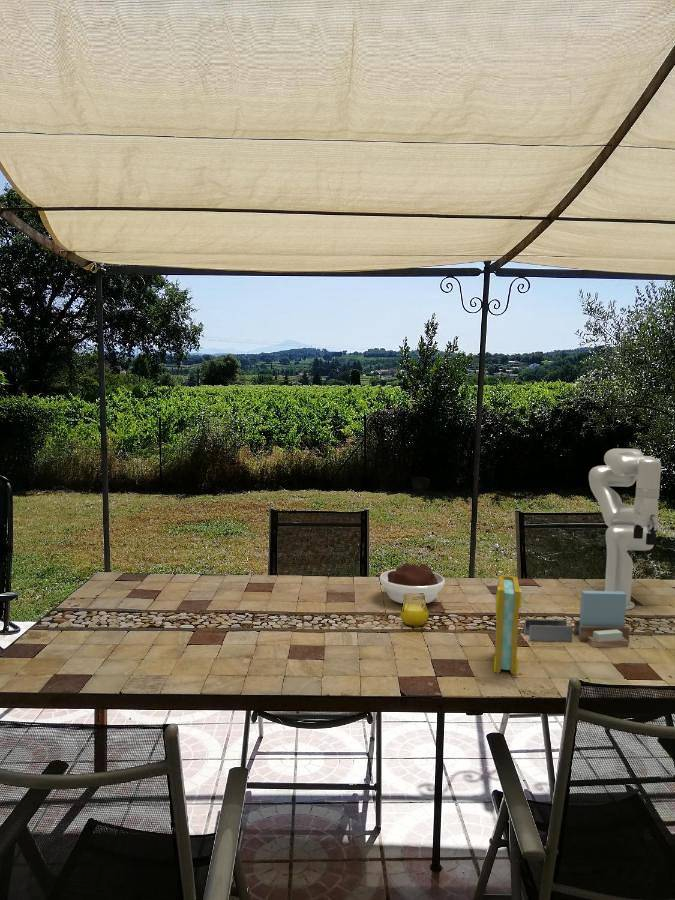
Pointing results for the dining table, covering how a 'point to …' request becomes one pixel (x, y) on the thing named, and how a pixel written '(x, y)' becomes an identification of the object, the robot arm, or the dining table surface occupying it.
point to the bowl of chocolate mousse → (411, 582)
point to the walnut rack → (588, 630)
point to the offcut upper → (607, 635)
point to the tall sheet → (602, 609)
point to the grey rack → (548, 630)
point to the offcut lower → (608, 643)
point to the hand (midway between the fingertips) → (644, 541)
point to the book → (507, 623)
